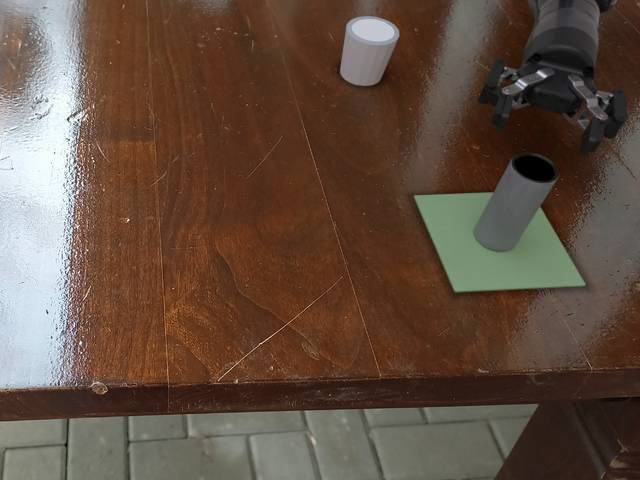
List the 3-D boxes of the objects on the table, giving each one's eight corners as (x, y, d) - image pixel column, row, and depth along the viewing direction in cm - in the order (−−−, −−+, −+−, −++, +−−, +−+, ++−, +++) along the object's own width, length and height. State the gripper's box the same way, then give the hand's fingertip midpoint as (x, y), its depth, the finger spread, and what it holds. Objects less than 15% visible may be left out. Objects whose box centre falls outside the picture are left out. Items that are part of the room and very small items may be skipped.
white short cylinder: (340, 90, 93) (352, 44, 88) (330, 60, 97) (341, 15, 92) (390, 90, 93) (405, 44, 88) (378, 60, 98) (392, 15, 92)
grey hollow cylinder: (476, 249, 75) (515, 179, 67) (470, 219, 78) (507, 149, 70) (519, 254, 74) (564, 185, 66) (512, 224, 77) (554, 153, 69)
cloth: (529, 193, 81) (531, 190, 81) (583, 287, 72) (586, 285, 72) (412, 198, 80) (414, 195, 80) (453, 294, 71) (455, 291, 71)
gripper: (509, 10, 80) (487, 87, 70) (643, 42, 76) (638, 127, 67) (485, 66, 86) (461, 144, 76) (608, 98, 82) (599, 183, 72)
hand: (544, 136), depth 71 cm, fingers open, 8 cm apart
